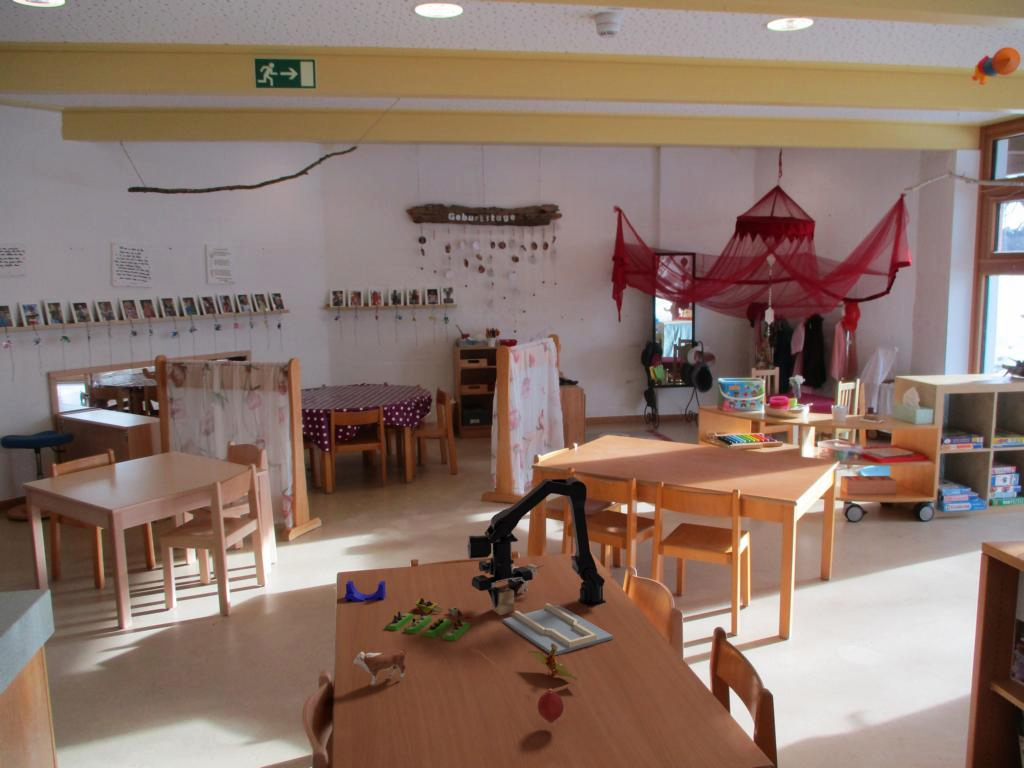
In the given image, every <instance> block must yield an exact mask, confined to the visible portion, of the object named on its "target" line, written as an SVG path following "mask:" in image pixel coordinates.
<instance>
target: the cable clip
mask: <svg viewBox="0 0 1024 768" xmlns="http://www.w3.org/2000/svg"><path fill="white" fill-rule="evenodd" d="M386 596H387V594H386V581H385V580H380V581H379V583H378V585H377V590H376V591H375V592H373V593H370V594H365V593H362V592H360V591H358V589H357V588H356V586H355V585H354V581H353V580H348V581H347V582H346V584H345V595H344V600H345V603H346V602H348V601H349V600H351V602H353V603H354V602H356V603H357V602H358V603H359V602H364V603H365V601H376V600H377V601H378V600H379V598H381V601H384V600H385V599H386Z"/></svg>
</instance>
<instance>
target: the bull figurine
mask: <svg viewBox="0 0 1024 768" xmlns="http://www.w3.org/2000/svg"><path fill="white" fill-rule="evenodd" d="M406 653H407V652H406V650H405V648H403V647H398V648H397V649H390V650H387V651H383V652H368V653H367V651H360V653H358V654H357V656H356V657H355V658H354V660H353V662H352V663H353V665H359V666H360V667H363V670H365V671H366V672H367V673H368V674H370V675H371V676H372V679H371V682H370V684H369V685H370V686H375V684H376V680H377V679H378V676H377V675H378V673H379V671H386V672H388V671H389V670H390V669H391V671H390V673H388V677H392V676H393V675H394V674H395V673H396V670H398V671H399V670H400V674H399V679H403V677H404V676H405V670H406V666H405V664H404V662H405V660H406Z"/></svg>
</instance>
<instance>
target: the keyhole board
mask: <svg viewBox="0 0 1024 768" xmlns="http://www.w3.org/2000/svg"><path fill="white" fill-rule="evenodd" d="M502 622H503V623H504V624H506V625H507V626H508V627H510V628H511V629H512V630H514V631H515V632H517V633H518V634H519V635H521V636H522V637H525V639H527V640H529V641H530V642H531V643H533V644H534V645H536V646H537V647H539V648H540V649H543V650H544V651H545V652H546V653H548V655H549V654H550V651H551V649H552V648H551V644H552V643H554V644H556V646H558V647H557V651H556V653H555V655H554V657H555V656H558V655H562V654H566V653H568V652H569V653H570V652H572V651H575V650H580V649H582V648H585V647H590V646H593V645H597V644H600V643H603V642H607V641H611V640H613V639H614V635H612V634H611V633H609V632H608V631H605V630H604V629H602V628H600V627H598V626H596V625H595V624H593V623H592V622H590V621H588V620H587V619H584V618H582V617H581V616H579V615H577V614H576V613H574V612H573V611H570V610H569V609H566V608H565V607H563V606H561V605H556V606H555V605H553V604H551V603H548V602H547V603H545V608H542V609H538V610H535V611H531V612H530V611H529V612H526V613H525V612H524V613H523V612H520V611H519V610H514V616H509V617H507V618H506V617H505V618H503V619H502Z"/></svg>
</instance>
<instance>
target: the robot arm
mask: <svg viewBox="0 0 1024 768" xmlns="http://www.w3.org/2000/svg"><path fill="white" fill-rule="evenodd" d="M587 489H588V488H587V486H586V484H585V483H584V482H582V481H581V480H580V479H578V478H577V477H575V476H574V477H573V476H570V477H568V478H548V477H547V478H544V479H542V480H541V482H540V483H539V484H537V485H536V486H535V487H534V488H532V489H531V490H530V491H529V492H527V493H526V494H525V495H524V496H522V498H521V499H519V500H517V502H516V503H514V504H513V505H511V507H508V508H505V509H503V510H501V511H499V512H497V513H495V514H494V515H493V516H492V518H491V519H490V525H489V526H488V528H486V530H485V532H484V535H469V536H468V543H467V555H468V559H469V560H473V559H474V560H475V559H484V560H479V561H478V569H479V572H484V574H482V575H476V576H473V577H472V579H471V586H472V588H474V589H476V590H477V591H479V592H484V591H487V593H488V594H489V598H490V599H491V603H492V602H493V605H494V607H495V608H497V604H498V588H497V587H498V586H497V587H496V584H497V583H501V582H505V581H507V584H508V587H509V588H510V589H512V590H514V599H515V598H516V596H517V594H518V591H519V590H521V588H522V586H521V585H522V584H524V585H525V582H523V581H522V579H523V580H524V581H528V582H529V581H532V580H534V575H533V573H532V571H531V570H529V569H527V568H526V567H524V566H525V565H524V566H517V567H518V568H514V569H513V572H512V564H513V565H514V559H513V558H512V543H513V542H514V543H516V542H518V541H519V539H518V538H517V536H515V535H514V534H513V531H514V530H515V528H517V526H518V524H519V523H520V521H521V519H522V518H523V517H525V516H526V515H527V514H528V513H529V512H531V511H532V510H533V509H534V508H535V507H536V506H538V505H539V504H540V503H541V502H542V501H544V500H545V499H546V498H547V497H548V496H550V495H552V494H553V495H560V496H565V498H566V500H567V503H568V505H569V509H570V514H571V521H572V528H573V537H574V544H575V553H574V555H571V556H570V559H571V562H572V565H571V568H572V570H573V571H574V572H575V573H576V574H577V576H578V577H579V578H580V579H581V580H582V582H580V588H579V598H578V599H577V600H578V601H579V602H580V603H582V604H584V605H586V606H588V607H593V606H597V605H601V604H605V603H607V601H606V600H605V599H604V584H605V581H606V580H605V579H604V577H602V576H601V574H600V573H599V572H598V568H597V565H596V562H595V559H594V557H593V555H592V553H591V550H590V548H591V547H590V539H589V533H588V526H587V518H586V510H585V506H586V503H587V497H588V495H587V493H588V492H587ZM491 554H492V557H490V559H489V561H490V562H489V561H488V562H487V560H486V559H485V558H489V556H491ZM488 573H489V575H490V577H487V576H486V575H485V574H488Z"/></svg>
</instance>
